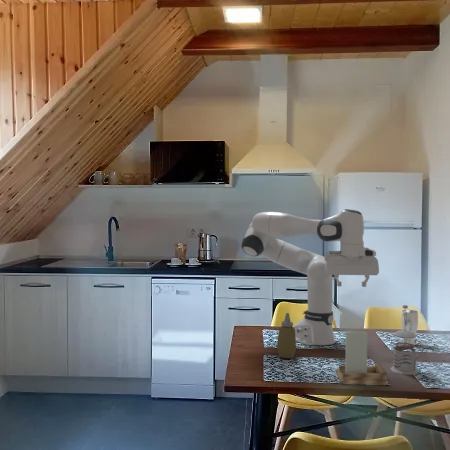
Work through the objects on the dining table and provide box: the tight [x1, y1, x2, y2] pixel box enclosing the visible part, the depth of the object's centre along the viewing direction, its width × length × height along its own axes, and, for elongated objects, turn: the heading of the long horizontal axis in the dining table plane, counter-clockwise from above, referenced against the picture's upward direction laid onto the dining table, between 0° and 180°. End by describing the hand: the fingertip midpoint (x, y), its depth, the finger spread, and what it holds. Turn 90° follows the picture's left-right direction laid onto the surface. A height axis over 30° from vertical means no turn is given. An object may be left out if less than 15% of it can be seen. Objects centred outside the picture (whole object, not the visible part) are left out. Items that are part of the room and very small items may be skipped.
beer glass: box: [401, 309, 419, 346], centre depth 217 cm, size 7×7×15 cm
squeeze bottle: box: [276, 312, 297, 359], centre depth 197 cm, size 8×8×18 cm
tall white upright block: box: [344, 330, 368, 373], centre depth 172 cm, size 7×4×16 cm, turn 84°
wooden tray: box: [335, 363, 389, 386], centre depth 173 cm, size 16×13×4 cm
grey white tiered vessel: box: [390, 304, 425, 376], centre depth 181 cm, size 10×12×25 cm
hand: (351, 286), depth 186 cm, fingers open, 8 cm apart
